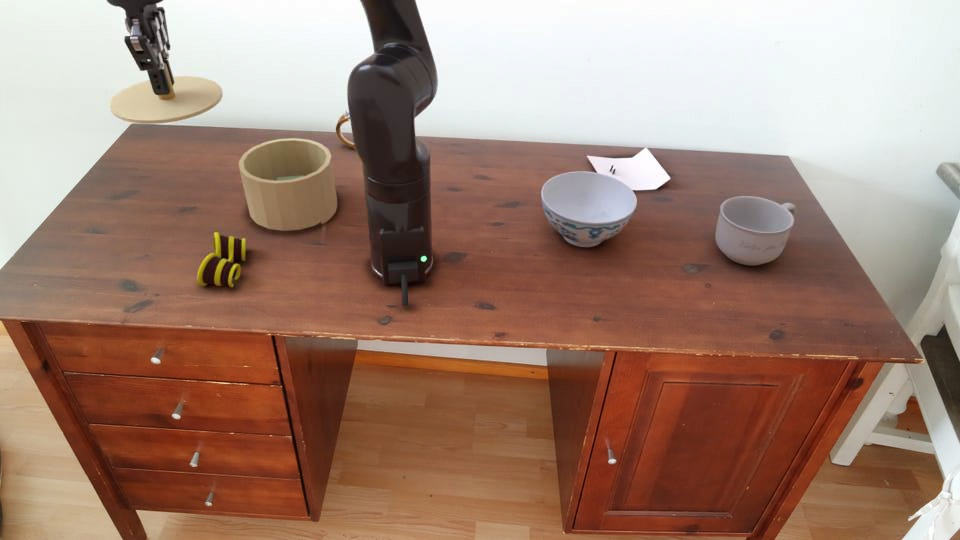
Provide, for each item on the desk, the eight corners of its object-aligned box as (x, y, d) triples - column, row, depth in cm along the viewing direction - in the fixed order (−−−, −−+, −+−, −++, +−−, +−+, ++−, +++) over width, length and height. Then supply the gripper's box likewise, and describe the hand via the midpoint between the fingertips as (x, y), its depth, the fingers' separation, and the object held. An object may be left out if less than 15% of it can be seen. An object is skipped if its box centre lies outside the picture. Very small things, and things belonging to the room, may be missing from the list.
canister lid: (216, 123, 92) (206, 83, 88) (99, 131, 90) (83, 90, 86) (229, 80, 104) (220, 43, 100) (126, 85, 102) (113, 48, 98)
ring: (375, 145, 130) (372, 108, 125) (371, 153, 127) (368, 115, 122) (341, 142, 130) (337, 105, 125) (336, 150, 128) (332, 112, 123)
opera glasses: (235, 296, 95) (235, 270, 92) (197, 292, 94) (196, 265, 91) (249, 255, 103) (250, 230, 100) (214, 251, 102) (213, 225, 99)
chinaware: (646, 252, 105) (655, 212, 100) (562, 271, 101) (568, 230, 96) (599, 203, 116) (606, 165, 111) (522, 219, 111) (525, 180, 106)
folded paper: (585, 160, 128) (587, 151, 126) (644, 156, 130) (646, 147, 128) (606, 193, 118) (608, 184, 117) (669, 188, 121) (671, 179, 119)
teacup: (732, 279, 100) (747, 236, 95) (696, 238, 109) (708, 197, 103) (809, 266, 104) (827, 224, 99) (768, 227, 112) (783, 187, 107)
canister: (337, 229, 107) (331, 179, 101) (245, 236, 105) (233, 185, 99) (337, 183, 118) (331, 136, 112) (253, 188, 116) (243, 140, 110)
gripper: (109, -51, 89) (147, 72, 100) (80, -22, 79) (126, 112, 90) (167, -52, 91) (199, 70, 101) (146, -24, 80) (184, 108, 91)
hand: (164, 89), depth 95 cm, fingers closed on canister lid, 2 cm apart
